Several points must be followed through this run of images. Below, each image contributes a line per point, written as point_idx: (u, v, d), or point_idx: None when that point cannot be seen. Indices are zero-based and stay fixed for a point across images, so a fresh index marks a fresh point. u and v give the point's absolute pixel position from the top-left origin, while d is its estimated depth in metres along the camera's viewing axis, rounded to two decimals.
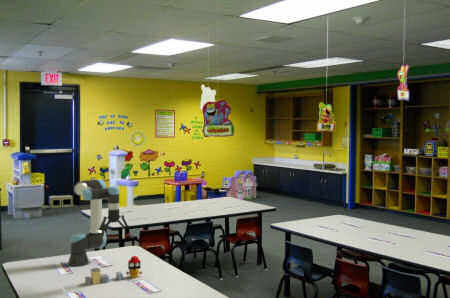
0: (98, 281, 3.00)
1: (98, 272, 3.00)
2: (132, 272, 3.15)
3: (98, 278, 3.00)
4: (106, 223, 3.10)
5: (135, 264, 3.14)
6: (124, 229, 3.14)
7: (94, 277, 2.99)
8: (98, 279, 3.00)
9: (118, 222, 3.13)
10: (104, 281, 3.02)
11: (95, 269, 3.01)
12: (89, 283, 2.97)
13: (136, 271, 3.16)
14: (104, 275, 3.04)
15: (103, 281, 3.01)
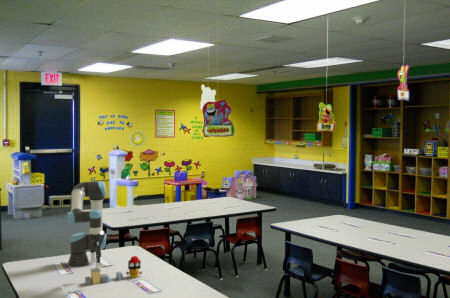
0: (98, 281, 3.00)
1: (98, 272, 3.00)
2: (132, 272, 3.15)
3: (98, 278, 3.00)
4: None
5: (135, 264, 3.14)
6: (96, 257, 2.94)
7: (94, 277, 2.99)
8: (98, 279, 3.00)
9: None
10: (104, 281, 3.02)
11: (95, 269, 3.01)
12: (89, 283, 2.97)
13: (136, 271, 3.16)
14: (104, 275, 3.04)
15: (103, 281, 3.01)
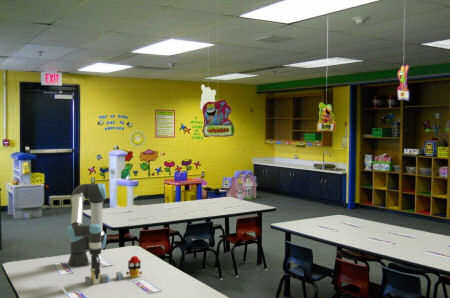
0: None
1: None
2: (132, 272, 3.15)
3: None
4: (95, 262, 3.04)
5: (135, 264, 3.14)
6: (94, 274, 2.98)
7: None
8: None
9: None
10: (104, 281, 3.02)
11: None
12: (89, 283, 2.97)
13: (136, 271, 3.16)
14: (104, 275, 3.04)
15: (103, 281, 3.01)
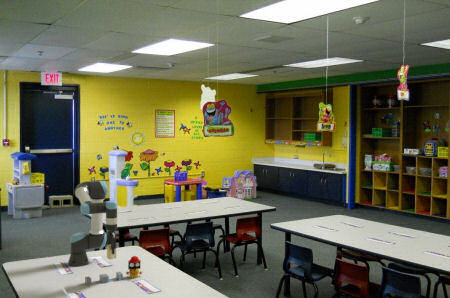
0: None
1: None
2: (132, 272, 3.15)
3: None
4: None
5: (135, 264, 3.14)
6: (110, 249, 3.03)
7: (110, 252, 3.04)
8: None
9: None
10: (104, 281, 3.02)
11: None
12: (89, 283, 2.97)
13: (136, 271, 3.16)
14: (104, 275, 3.04)
15: (103, 281, 3.01)
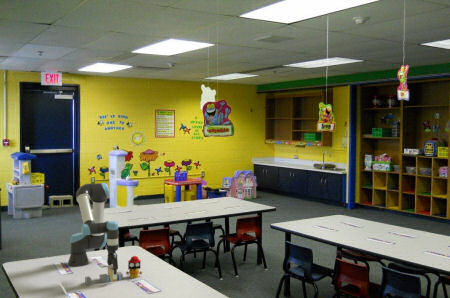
0: None
1: None
2: (132, 272, 3.15)
3: None
4: None
5: (135, 264, 3.14)
6: (112, 269, 3.02)
7: (111, 274, 3.05)
8: None
9: None
10: (104, 281, 3.02)
11: (112, 266, 3.07)
12: (89, 283, 2.97)
13: (136, 271, 3.16)
14: (104, 275, 3.04)
15: (103, 281, 3.01)
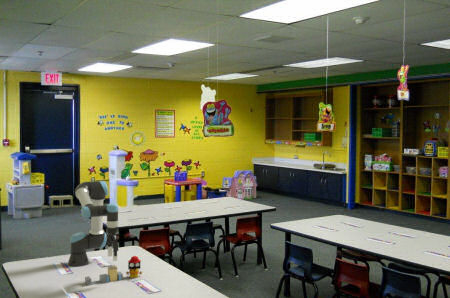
0: (115, 278, 3.06)
1: (115, 269, 3.06)
2: (132, 272, 3.15)
3: (115, 275, 3.06)
4: None
5: (135, 264, 3.14)
6: (113, 251, 3.01)
7: (111, 274, 3.05)
8: (115, 276, 3.06)
9: None
10: (104, 281, 3.02)
11: (112, 266, 3.07)
12: (89, 283, 2.97)
13: (136, 271, 3.16)
14: (104, 275, 3.04)
15: (103, 281, 3.01)
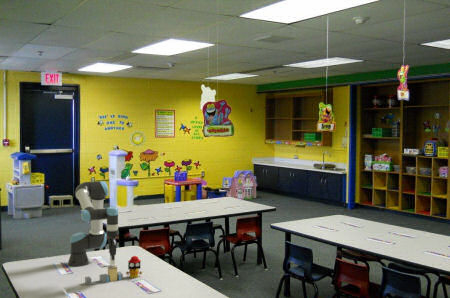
0: (115, 278, 3.06)
1: (115, 269, 3.06)
2: (132, 272, 3.15)
3: (115, 275, 3.06)
4: None
5: (135, 264, 3.14)
6: None
7: (111, 274, 3.05)
8: (115, 276, 3.06)
9: (113, 245, 3.06)
10: (104, 281, 3.02)
11: (112, 266, 3.07)
12: (89, 283, 2.97)
13: (136, 271, 3.16)
14: (104, 275, 3.04)
15: (103, 281, 3.01)
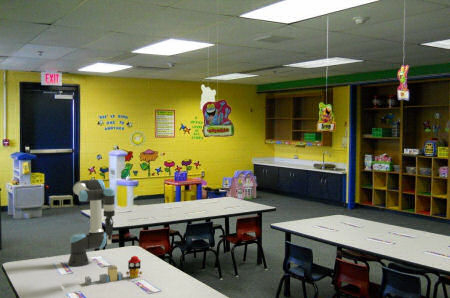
0: (115, 278, 3.06)
1: (115, 269, 3.06)
2: (132, 272, 3.15)
3: (115, 275, 3.06)
4: None
5: (135, 264, 3.14)
6: (107, 235, 3.12)
7: (111, 274, 3.05)
8: (115, 276, 3.06)
9: None
10: (104, 281, 3.02)
11: (112, 266, 3.07)
12: (89, 283, 2.97)
13: (136, 271, 3.16)
14: (104, 275, 3.04)
15: (103, 281, 3.01)
